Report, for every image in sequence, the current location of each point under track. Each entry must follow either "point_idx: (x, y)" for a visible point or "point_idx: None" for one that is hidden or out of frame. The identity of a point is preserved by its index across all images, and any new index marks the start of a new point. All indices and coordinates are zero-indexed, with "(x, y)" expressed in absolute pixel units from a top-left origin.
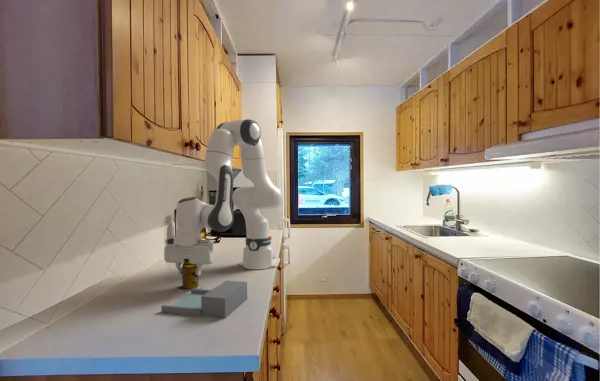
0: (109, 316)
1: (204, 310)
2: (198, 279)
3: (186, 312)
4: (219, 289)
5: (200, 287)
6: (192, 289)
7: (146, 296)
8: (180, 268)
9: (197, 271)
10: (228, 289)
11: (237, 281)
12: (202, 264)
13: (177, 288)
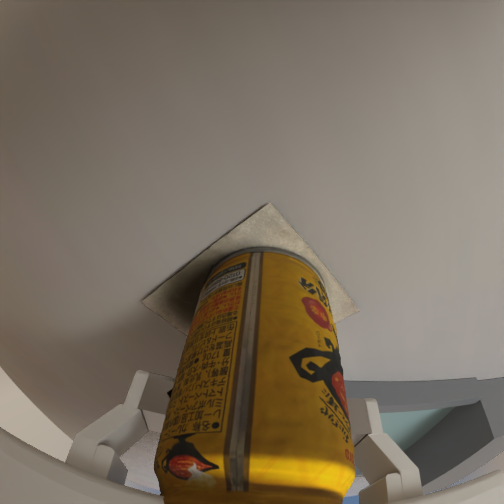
0: (152, 457)
1: None
2: (335, 333)
3: None
4: (447, 477)
5: (347, 305)
6: None
7: (112, 386)
8: (138, 430)
9: (354, 449)
10: (470, 468)
11: None
12: (410, 489)
13: (180, 325)
